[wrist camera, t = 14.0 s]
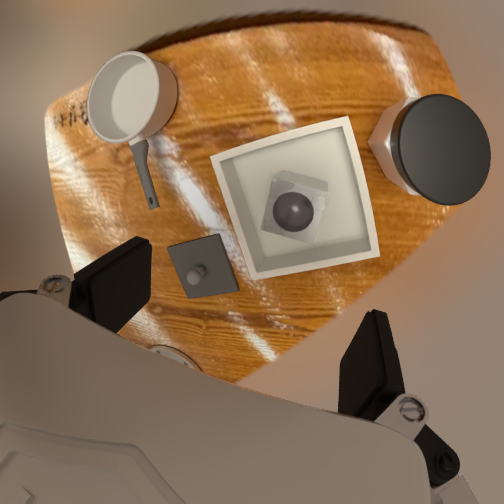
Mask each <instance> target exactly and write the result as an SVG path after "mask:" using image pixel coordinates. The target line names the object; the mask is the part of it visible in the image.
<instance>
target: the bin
mask: <svg viewBox="0 0 504 504" xmlns="http://www.w3.org/2000/svg"><path fill="white" fill-rule="evenodd" d="M210 159H211V162H212V165H213V167H214V170H215V173H216V176H217V179H218V182H219V185H220V188H221V191H222V194H223V197H224V200H225V203H226V206H227V209H228V212H229V215H230V218H231V221H232V224H233V227H234V230H235V233H236V235H237V238H238V241H239V244H240V247H241V250H242V253H243V256H244V259H245V262H246V265H247V267H248V270H249V273H250V276H251V279H252V280H258V279H264V278H269V277H275V276H280V275H286V274H292V273H297V272H302V271H308V270H313V269H318V268H324V267H329V266H334V265H339V264H344V263H349V262H354V261H359V260H364V259H369V258H374V257H379V256H380V253H379V246H378V240H377V234H376V228H375V222H374V217H373V212H372V207H371V202H370V197H369V192H368V188H367V183H366V179H365V175H364V171H363V167H362V163H361V159H360V155H359V151H358V148H357V144H356V141H355V137H354V134H353V130H352V127H351V124H350V121H349V117H348V116H346V117H341V118H337V119H332V120H328V121H324V122H320V123H316V124H312V125H308V126H304V127H301V128H297V129H293V130H290V131H286V132H283V133H279V134H276V135H273V136H269V137H266V138H263V139H260V140H256V141H253V142H250V143H247V144H244V145H241V146H238V147H235V148H232V149H230V150H227V151H224V152H221V153H218V154H216V155H213V156H210ZM282 170H286V171H290V172H294V173H297V174H301V175H305V176H308V177H312V178H315V179H319V180H322V181H326V182H328V196H327V200H326V203H325V207H324V210H323V214H322V217H321V220H320V224H319V227H318V231H317V234H316V237H315V240H314V244H313V245H311V244H308V243H304V242H301V241H298V240H294V239H291V238H287V237H284V236H280V235H277V234H274V233H270V232H267V231H263V230H260V229H261V225H262V220H263V216H264V212H265V207H266V203H267V198H268V194H269V190H270V185H271V181H272V177H273V176H275V175H276V174H278V173H279V172H281V171H282Z"/></svg>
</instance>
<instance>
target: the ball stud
mask: <svg viewBox="0 0 504 504" xmlns="http://www.w3.org/2000/svg"><path fill="white" fill-rule="evenodd" d="M167 250H168V252H169V255H170V257H171V259H172V262H173V264H174V267H175V269H176V271H177V274H178V276H179V279H180V281H181V283H182V285H183V288H184V290H185V292H186V295H187V297H188V299H190V298H197V297H204V296H211V295H218V294H225V293H231V292H238V291H239V286H238V283H237V281H236V278H235V275H234V273H233V270H232V267H231V264H230V262H229V259H228V256H227V253H226V250H225V248H224V245H223V242H222V239H221V237H220V234H215V235H211V236H207V237H203V238H199V239H195V240H192V241H188V242H184V243H180V244H176V245H173V246H169V247H168V248H167Z"/></svg>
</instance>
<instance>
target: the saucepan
mask: <svg viewBox="0 0 504 504" xmlns="http://www.w3.org/2000/svg"><path fill="white" fill-rule="evenodd" d="M176 100H177V84H176V79H175V77H174V75H173V73H172V72H171V70H170V69H169V68H168V67H167V66H166V65H164V64H162V63H160V62H158V61H155V60H152V59H150V58H149V57H147V56H146V55H145V54H143V53H140V52H137V51H127V52H122V53H120V54H117V55H115V56H114V57H112V58H111V59H109V60H108V61H107V62H106V63H105V64H104V65H103V66H102V67H101V68H100V70H99V71H98V72H97V74H96V75H95V77H94V79H93V81H92V83H91V86H90V89H89V93H88V98H87V115H88V120H89V123H90V126H91V128H92V130H93V131H94V133H95V134H96V135H97V136H98V137H99V138H100V139H102V140H103V141H105V142H108V143H115V144H117V143H123V142H126V141H129V144H130V148H131V151H132V152H133V154H134V160H135V164H136V168H137V171H138V174H139V177H140V181H141V184H142V187H143V190H144V193H145V196H146V199H147V202H148V205H149V208H150V210H152V209H154V208H157V207H160V205H159V202H158V199H157V196H156V193H155V189H154V186H153V183H152V179H151V176H150V173H149V169H148V166H147V153H148V147H149V145H148V142H147V140H146V138H145V137H148V136H150V135H153V134H154V133H156V132H157V131H159V130H160V129H161V128H162V127H163V126H164V125H165V124H166V122H167V121H168V120H169V118H170V116H171V115H172V113H173V110H174V107H175V105H176Z"/></svg>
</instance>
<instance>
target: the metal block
mask: <svg viewBox="0 0 504 504" xmlns="http://www.w3.org/2000/svg"><path fill="white" fill-rule="evenodd" d="M327 196H328V182H326V181H322V180H319V179H315V178H312V177H308V176H305V175H301V174H297V173H294V172H290V171H286V170H282V171H281V172H279V173H278V174H276V175H275V176H273V177H272V181H271V185H270V190H269V194H268V198H267V203H266V207H265V212H264V216H263V220H262V225H261V229H260V230H263V231H267V232H270V233H274V234H277V235H280V236H284V237H287V238H291V239H294V240H298V241H301V242H304V243H308V244H311V245H313V244H314V240H315V237H316V234H317V231H318V227H319V224H320V220H321V217H322V214H323V210H324V207H325V203H326V200H327Z"/></svg>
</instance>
